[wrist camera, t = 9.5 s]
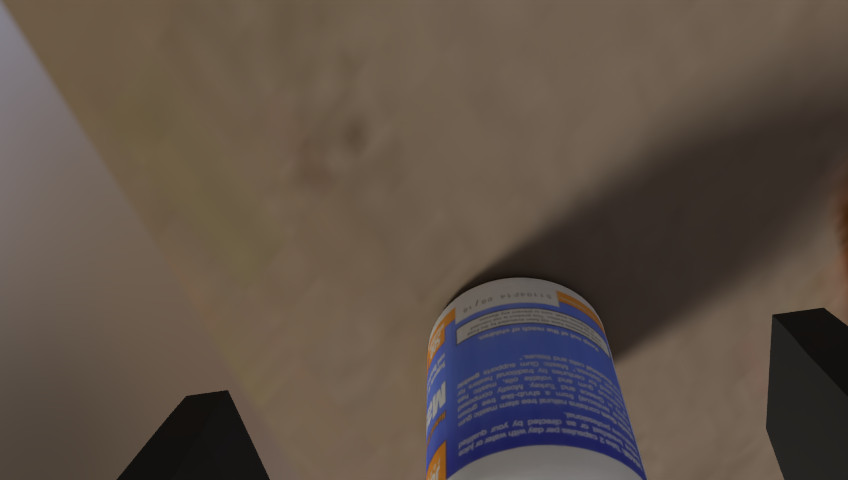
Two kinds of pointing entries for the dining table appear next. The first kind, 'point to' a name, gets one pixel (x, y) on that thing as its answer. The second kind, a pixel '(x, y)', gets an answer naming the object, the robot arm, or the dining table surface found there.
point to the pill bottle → (525, 389)
